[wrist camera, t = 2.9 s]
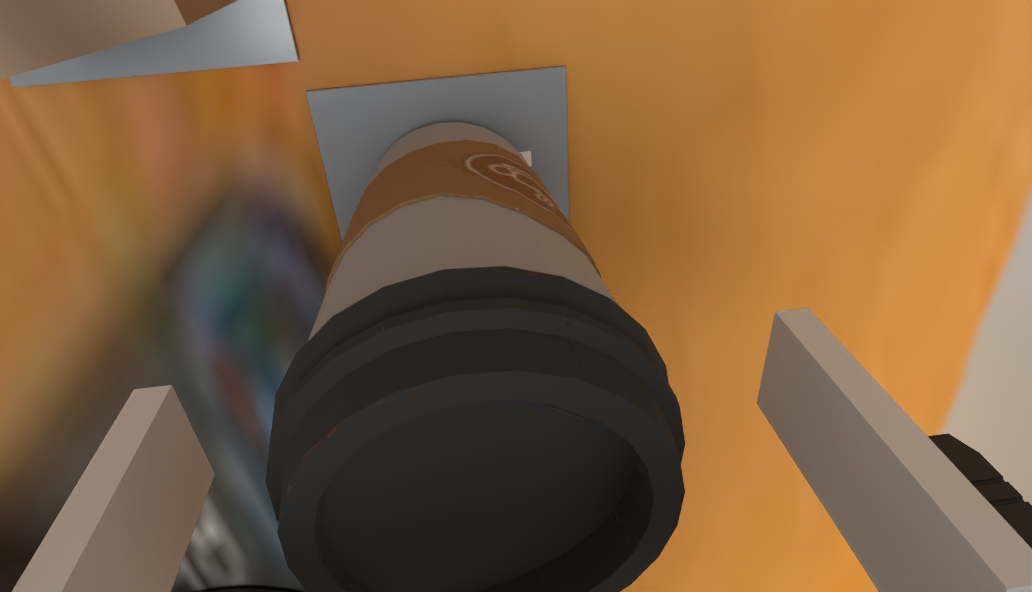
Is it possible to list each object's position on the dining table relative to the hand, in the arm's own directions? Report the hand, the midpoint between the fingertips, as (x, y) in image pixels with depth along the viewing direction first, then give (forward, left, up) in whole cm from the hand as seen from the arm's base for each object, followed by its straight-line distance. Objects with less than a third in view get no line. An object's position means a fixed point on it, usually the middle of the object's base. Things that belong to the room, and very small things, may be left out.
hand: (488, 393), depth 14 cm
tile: (0, 0, -12) cm, 12 cm away
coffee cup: (0, 0, -12) cm, 12 cm away
